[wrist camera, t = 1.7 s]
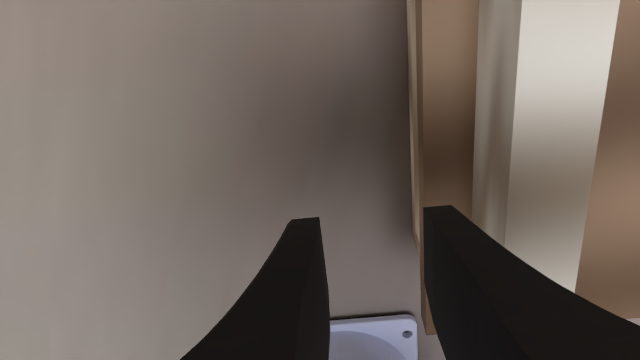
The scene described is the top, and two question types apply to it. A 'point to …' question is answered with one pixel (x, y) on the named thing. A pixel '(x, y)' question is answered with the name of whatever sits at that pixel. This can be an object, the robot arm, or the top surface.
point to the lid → (536, 135)
